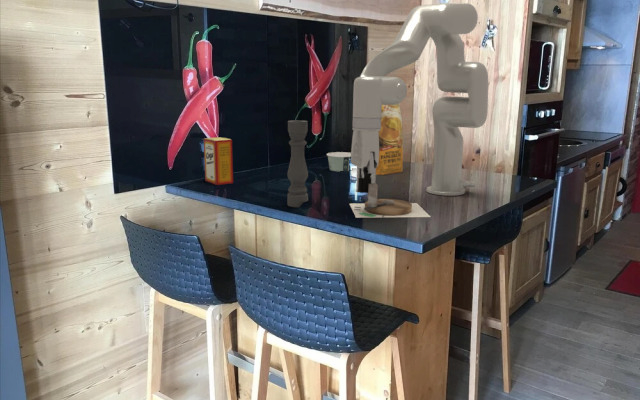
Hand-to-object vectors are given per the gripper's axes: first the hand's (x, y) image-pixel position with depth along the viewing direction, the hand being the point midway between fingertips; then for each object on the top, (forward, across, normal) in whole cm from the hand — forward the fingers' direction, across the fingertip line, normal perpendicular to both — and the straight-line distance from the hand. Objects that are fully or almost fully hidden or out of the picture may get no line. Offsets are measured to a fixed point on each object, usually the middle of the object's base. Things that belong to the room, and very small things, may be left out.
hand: (364, 192), depth 147 cm
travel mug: (+7, -30, +12) cm, 33 cm away
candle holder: (+7, -18, -14) cm, 24 cm away
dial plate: (+7, 0, +7) cm, 10 cm away
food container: (+7, -76, +17) cm, 78 cm away
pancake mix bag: (+6, -65, +33) cm, 73 cm away
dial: (+5, 0, +6) cm, 8 cm away
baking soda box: (+7, -60, -34) cm, 70 cm away
